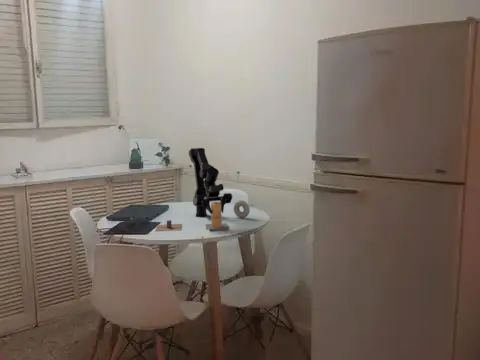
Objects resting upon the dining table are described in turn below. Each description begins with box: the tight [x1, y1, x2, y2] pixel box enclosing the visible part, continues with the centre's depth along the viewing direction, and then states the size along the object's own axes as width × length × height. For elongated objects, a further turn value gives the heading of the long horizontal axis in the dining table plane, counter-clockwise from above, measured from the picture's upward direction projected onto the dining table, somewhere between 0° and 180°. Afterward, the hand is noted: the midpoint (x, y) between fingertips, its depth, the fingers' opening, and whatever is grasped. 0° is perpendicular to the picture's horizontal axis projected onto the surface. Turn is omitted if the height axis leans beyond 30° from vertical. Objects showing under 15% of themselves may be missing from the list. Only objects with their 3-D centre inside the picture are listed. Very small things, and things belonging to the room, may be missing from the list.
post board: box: [155, 219, 183, 232], centre depth 251 cm, size 13×13×4 cm
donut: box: [233, 199, 251, 219], centre depth 274 cm, size 10×4×10 cm, turn 59°
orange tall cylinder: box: [210, 201, 223, 228], centre depth 251 cm, size 5×5×12 cm
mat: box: [205, 223, 229, 232], centre depth 252 cm, size 11×11×1 cm
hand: (217, 212), depth 250 cm, fingers open, 6 cm apart
